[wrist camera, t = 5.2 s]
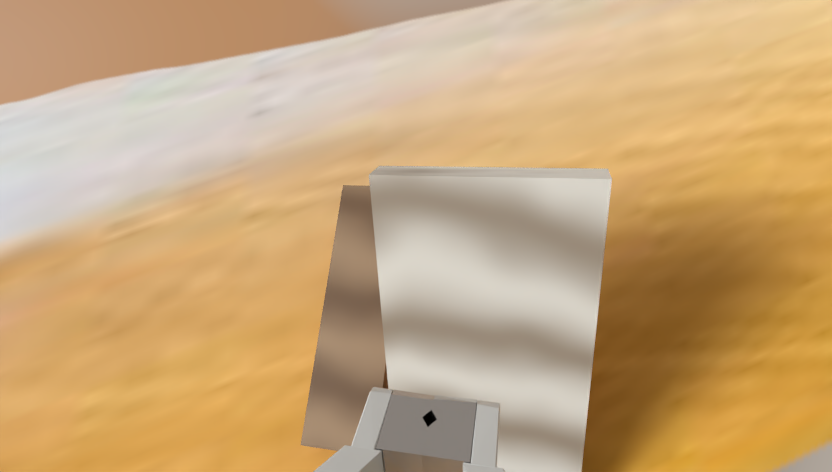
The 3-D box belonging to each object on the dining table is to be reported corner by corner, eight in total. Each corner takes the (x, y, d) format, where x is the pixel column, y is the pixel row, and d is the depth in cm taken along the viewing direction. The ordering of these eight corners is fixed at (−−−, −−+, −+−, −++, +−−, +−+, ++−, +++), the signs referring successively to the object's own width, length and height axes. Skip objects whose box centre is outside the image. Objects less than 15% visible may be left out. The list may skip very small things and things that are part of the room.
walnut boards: (608, 685, 30) (613, 705, 28) (286, 607, 35) (272, 619, 33) (610, 201, 38) (614, 191, 36) (351, 194, 43) (343, 185, 41)
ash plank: (578, 465, 33) (579, 488, 31) (401, 439, 36) (394, 459, 34) (607, 168, 25) (611, 179, 23) (379, 166, 28) (368, 175, 26)
